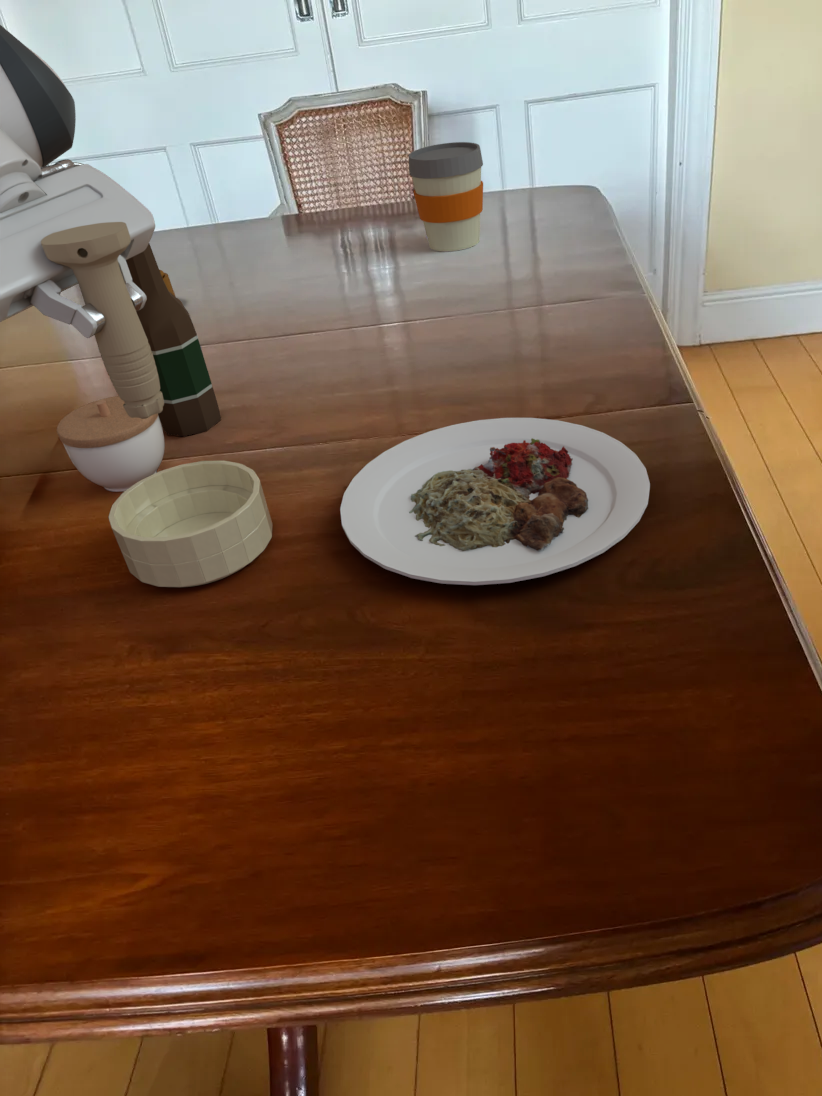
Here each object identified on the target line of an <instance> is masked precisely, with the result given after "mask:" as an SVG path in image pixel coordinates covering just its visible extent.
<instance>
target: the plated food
mask: <svg viewBox="0 0 822 1096" xmlns="http://www.w3.org/2000/svg"><path fill="white" fill-rule="evenodd" d="M650 490H651V483H650V479H649V475H648V472H647V468H646V466H645V464H644V463H643V462H642V461H641V459H640V458H639V457H638V455H637V454H636V453H635V452H634V451H632V449H630V448H629V447H628V446H627V445H625V444H624V443H623V442H622V441H620V440H618V439H616V438H614V437H613V436H611V435H608V434H607V433H605V432H603V431H599V430H597V429H594V428H592V427H588V426H585V425H582V424H579V423H578V424H577V423H572V422H568V421H563V420H558V419H550V418H540V417H538V418H537V417H500V418H499V417H497V418H487V419H477V420H472V421H467V422H461V423H455V424H451V425H448V426H443V427H440V428H437V429H436V428H435V429H433V430H430V431H426V432H424V433H421V434H419V435H417V436H414V437H411V438H409V439H405V440H404V441H401V442H400V443H398V444H396V445H394V446H392V447H391V448H389V449H387V450H385V451H383V452H382V453H380V454H379V455H378V456H376V457H375V458H373V459H372V460H371V461H369V462H368V463H367V464H365V466H363V468H361V470H359V471H358V473H357V474H355V476H354V477H353V478H352V480H351V481H350V483H349V485H348V486H347V488H346V490H345V491H344V493H343V496H342V499H341V504H340V507H339V511H340V520H341V521H340V522H341V528H342V530H343V531H344V533H345V535H346V537H347V539H348V541H349V544H351V545H352V546H353V547H354V548H355V549H356V550H357V551H358V552H359V553H360V554H361V555H362V556H363V557H364V558H366V559H367V560H369V561H371V562H372V563H374V564H376V565H378V566H379V567H381V568H383V569H385V570H387V571H390V572H393V573H396V574H399V575H402V576H405V577H408V578H410V579H415V580H420V581H425V582H432V583H435V584H436V583H437V584H441V585H443V584H446V585H460V586H461V585H462V586H484V585H497V584H498V585H501V584H511V583H515V582H520V581H526V580H531V579H537V578H542V577H546V576H550V575H552V574H555V573H558V572H563V571H565V570H568V569H570V568H574V567H578V566H579V565H582V564H583V563H585V562H587V561H589V560H591V559H594V558H596V557H598V556H599V555H601V554H604V553H605V552H606V551H608V550H609V549H610V548H612V547H613V546H615V545H616V544H617V543H619V542H621V541H622V540H623V539H624V538H625V537H626V536H628V534H629V533H630V532H631V531H632V530H633V529H634V528H635V526H636V525H638V524H639V522H640V521H641V519H642V517H643V515H644V514H645V511H646V509H647V507H648V506H649V499H650Z"/></svg>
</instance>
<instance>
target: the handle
mask: <svg viewBox="0 0 822 1096" xmlns="http://www.w3.org/2000/svg"><path fill="white" fill-rule="evenodd" d="M130 242H131V238H130V234H129V231H128V228H127V225H126V223H124V222H107V223H97V224H91V225H85V226H79V227H74V228H70V229H66V230H62V231H59V232H55V233H52V234H50V235H48V236H46V237H44V238H43V239H42V240H41V244H42V247H43V250H44V252H45V255H46V257H47V258H48V259H49V260H50V261H52V262H55V263H58V264H62V265H65V266H68V267H69V268H71V269H72V270H73V272H74V274H75V277H76V279H77V281H78V284H77V285H78V287H79V290H80V292H81V296H82V300H83V302H84V305H86V304H89V303H91V304H92V305H93V306H94V307H95V308H96V309H97V312H99V313H101V314H102V315H103V316H104V317H105V319H106V323H105V325H104V326H103V329H102V331H101V332H99V333H97V334H95V335H94V338H95V342H96V345H97V348H98V352H99V353H100V357H101V360H102V363H103V365H104V368H105V369H106V373H107V376H109V380H110V382H111V383H112V386H113V388H114V390H115V391H116V393H117V396H119V397H120V398H121V400H123V401H124V402H125V404H123V407H124V409H125V411H126V412H127V414H128V416H130V417H131V418H135V417H137V418H141V419H146V418H149V417H150V416H152V415H154V414H158V413H161V412H162V410H163V406H164V399H163V395H162V392H161V391H160V382H159V377H158V372H157V368H156V365H155V360H154V358H153V354H152V351H151V348H150V345H149V343H148V339H147V337H146V334H145V332H144V330H143V327H142V325H141V322H140V320H139V317H138V315H137V312H136V310H135V308H134V305H133V303H132V300H131V298H130V295H129V292H128V290H127V287H126V285H125V282H124V279H123V277H122V274H121V271H120V267H119V263H118V257H119V255H120V254H121V253H122V252H123V251H124V250H125V249H126V248H127V247H128V245H129V244H130Z"/></svg>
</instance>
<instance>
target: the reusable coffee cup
mask: <svg viewBox="0 0 822 1096" xmlns="http://www.w3.org/2000/svg"><path fill="white" fill-rule="evenodd" d="M483 166H484V161H483V156H482V150H481V146H480V144H478V143H475V142H469V141H455V142H444V143H437V144H433V145H428V146H424V147H420V148H417V149H416V150H415V149H414V150H413V151H411V152H410V153H409V154H408V174H409V176H410V177H411V179H412V184H413V187H414V189H413V191H412V193H413V197H414V200H415V201H414V202H415V204H416V208H417V213H418V217H419V220H420V221H422V223H423V227H424V230H425V235H426V238H427V242H428V246H429V249H430V250H432V251H435V252H457V251H458V252H459V251H462V250H466V249H471V248H472V247H474V246H476V245H478V244H479V242H480V239H481V238H480V237H481V236H480V235H481V234H480V233H481V232H480V231H481V213H482V212H483V209H484V208H483V205H484V204H483V203H484V181H483V180H482V167H483Z"/></svg>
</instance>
